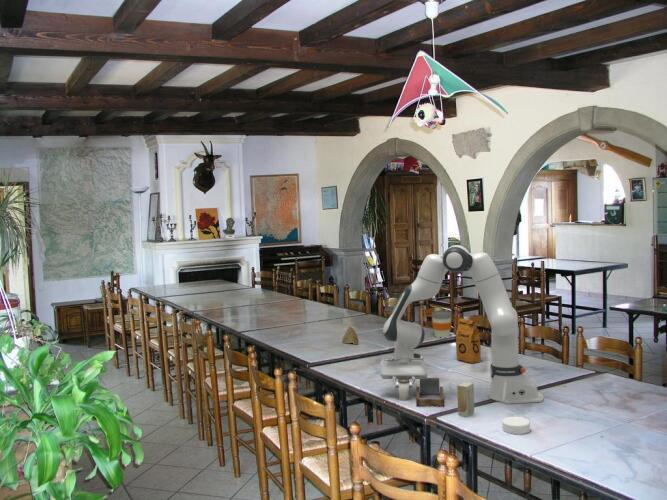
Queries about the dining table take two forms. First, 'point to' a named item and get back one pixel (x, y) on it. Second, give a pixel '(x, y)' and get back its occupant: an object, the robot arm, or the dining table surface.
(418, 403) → the brown wooden rectangular frame
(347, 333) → the rock
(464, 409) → the skincare box
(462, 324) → the coffee package
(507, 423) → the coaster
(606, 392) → the dining table surface
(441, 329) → the reusable coffee cup
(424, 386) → the bar
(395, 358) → the robot arm
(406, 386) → the jar
